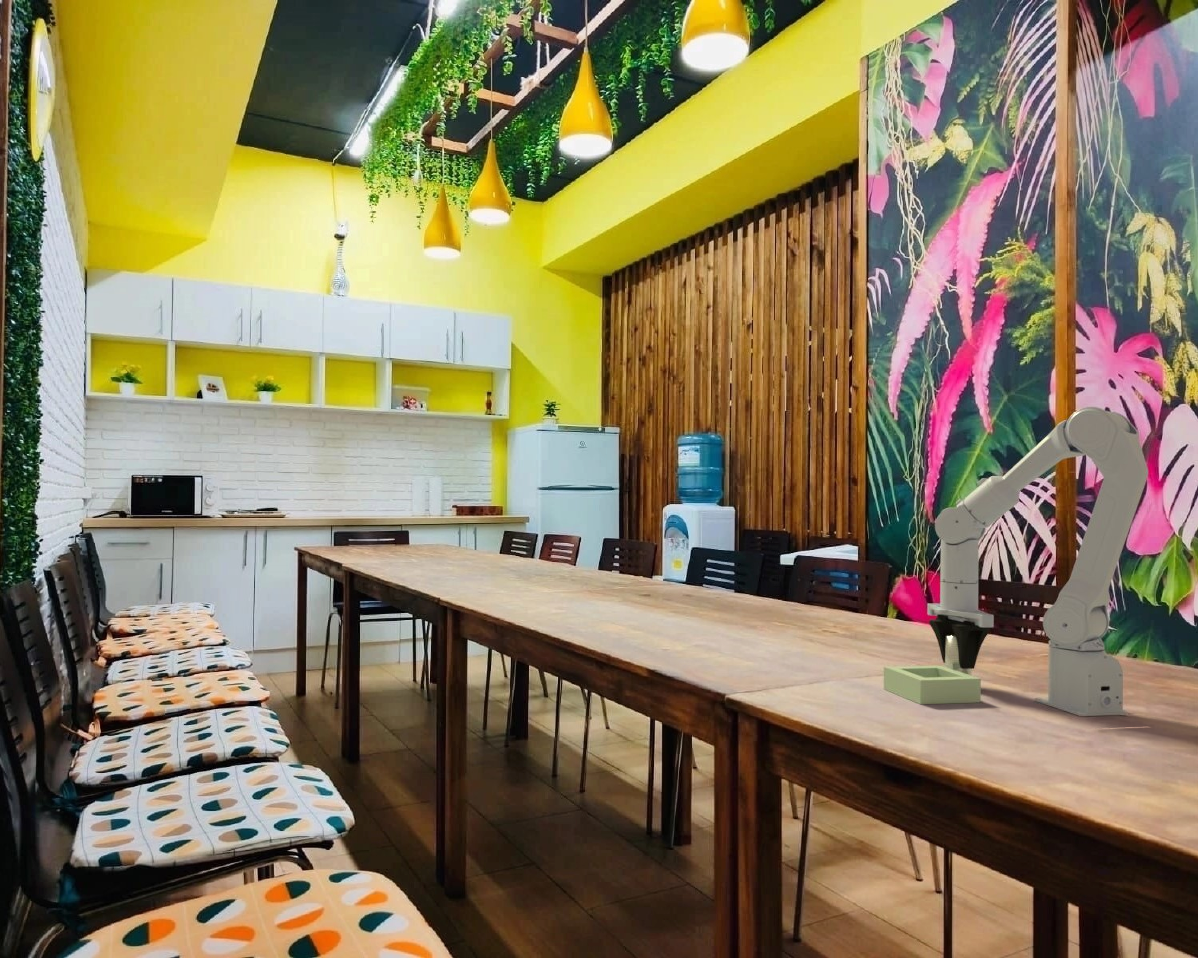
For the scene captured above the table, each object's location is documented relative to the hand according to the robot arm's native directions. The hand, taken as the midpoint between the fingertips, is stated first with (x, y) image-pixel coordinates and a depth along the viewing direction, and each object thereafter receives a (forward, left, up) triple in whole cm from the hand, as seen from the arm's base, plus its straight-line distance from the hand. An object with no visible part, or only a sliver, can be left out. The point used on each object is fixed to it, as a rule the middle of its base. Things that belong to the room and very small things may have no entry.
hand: (958, 665), depth 138 cm
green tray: (-6, +9, -3) cm, 11 cm away
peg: (0, 0, -3) cm, 3 cm away
